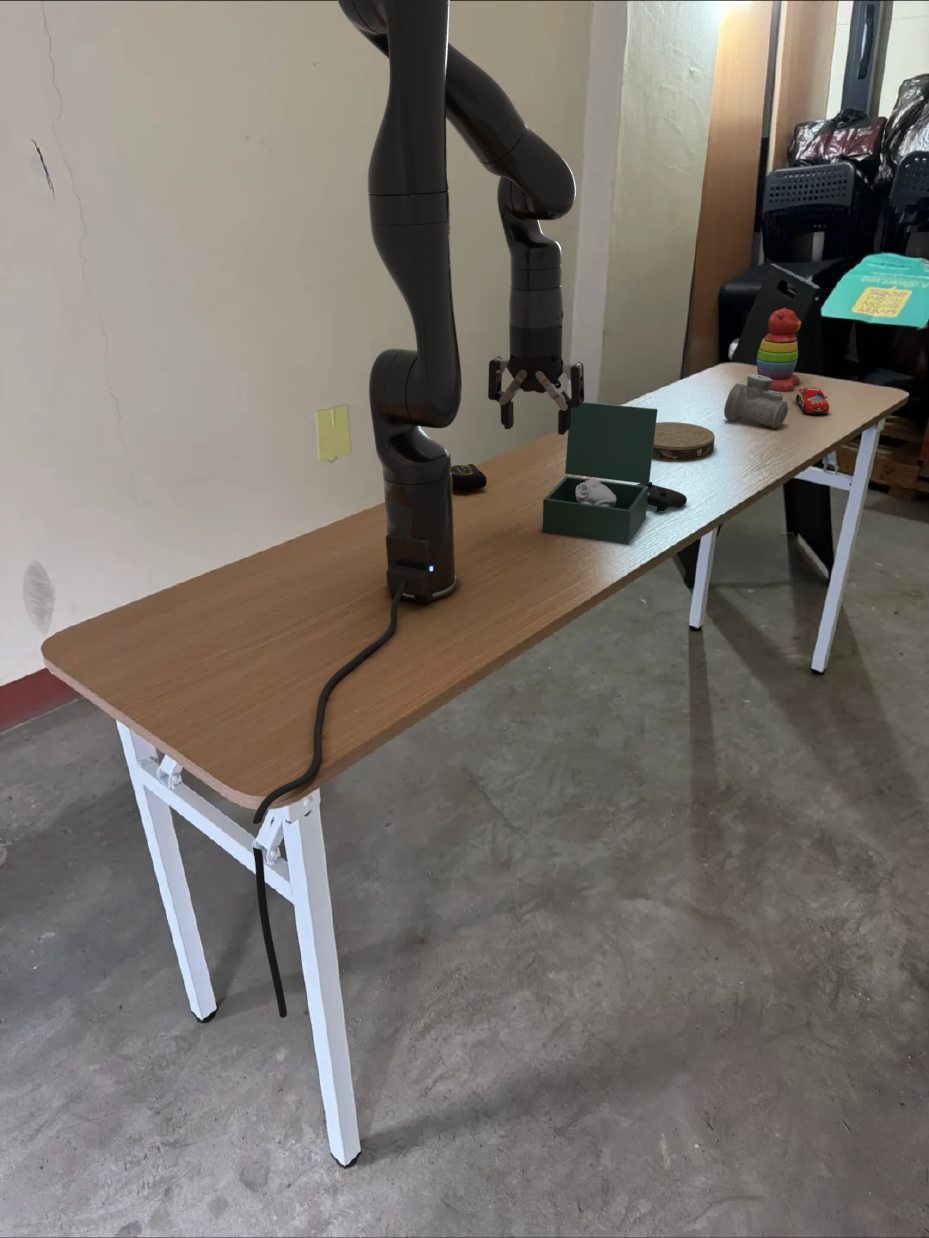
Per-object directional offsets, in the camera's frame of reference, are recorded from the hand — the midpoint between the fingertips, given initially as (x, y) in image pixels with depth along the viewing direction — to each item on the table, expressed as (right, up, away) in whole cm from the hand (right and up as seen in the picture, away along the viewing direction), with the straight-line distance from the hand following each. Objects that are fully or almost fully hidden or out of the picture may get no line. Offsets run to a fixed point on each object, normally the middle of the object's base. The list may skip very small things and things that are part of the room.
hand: (535, 430), depth 131 cm
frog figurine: (+11, -13, +11) cm, 20 cm away
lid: (+13, 0, +10) cm, 16 cm away
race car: (+68, +19, +65) cm, 96 cm away
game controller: (+22, -9, +18) cm, 30 cm away
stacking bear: (+66, +29, +83) cm, 110 cm away
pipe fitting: (+52, +13, +56) cm, 77 cm away
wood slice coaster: (+31, +6, +43) cm, 54 cm away
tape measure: (-10, -5, +28) cm, 30 cm away
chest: (+11, -13, +11) cm, 20 cm away
